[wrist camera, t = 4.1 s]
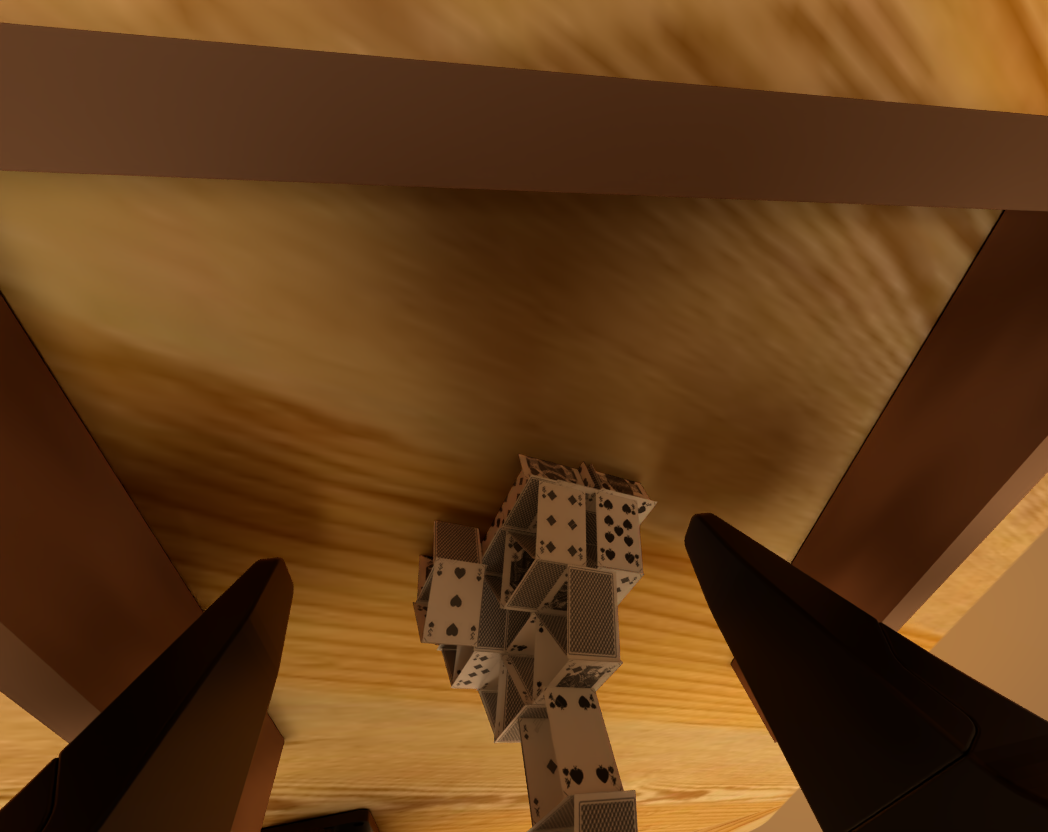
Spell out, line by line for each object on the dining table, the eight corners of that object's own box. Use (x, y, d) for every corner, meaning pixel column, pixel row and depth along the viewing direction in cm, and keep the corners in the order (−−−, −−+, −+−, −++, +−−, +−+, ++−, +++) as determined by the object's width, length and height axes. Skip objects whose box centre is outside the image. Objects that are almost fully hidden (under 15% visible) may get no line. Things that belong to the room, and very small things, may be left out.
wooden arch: (750, 661, 19) (796, 738, 16) (256, 745, 16) (220, 858, 13) (1083, 146, 8) (1358, 144, 6) (-258, 47, 5) (-995, -66, 2)
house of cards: (333, 308, 8) (-115, 943, 2) (675, 425, 11) (997, 798, 5) (267, 593, 12) (64, 1107, 5) (534, 621, 15) (604, 969, 9)
